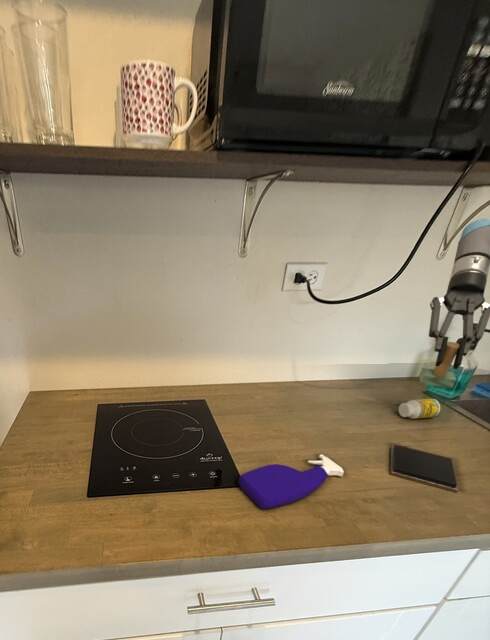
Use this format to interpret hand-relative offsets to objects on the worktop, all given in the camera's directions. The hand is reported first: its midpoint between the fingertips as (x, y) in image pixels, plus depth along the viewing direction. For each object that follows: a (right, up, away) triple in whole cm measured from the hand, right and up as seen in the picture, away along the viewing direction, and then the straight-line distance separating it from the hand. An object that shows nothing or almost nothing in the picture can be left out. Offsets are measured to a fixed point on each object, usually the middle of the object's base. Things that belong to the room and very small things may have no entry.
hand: (447, 364), depth 92 cm
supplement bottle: (+10, -9, +19) cm, 23 cm away
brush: (+2, -3, +7) cm, 8 cm away
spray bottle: (-39, -27, -7) cm, 48 cm away
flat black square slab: (-8, -25, -2) cm, 26 cm away
